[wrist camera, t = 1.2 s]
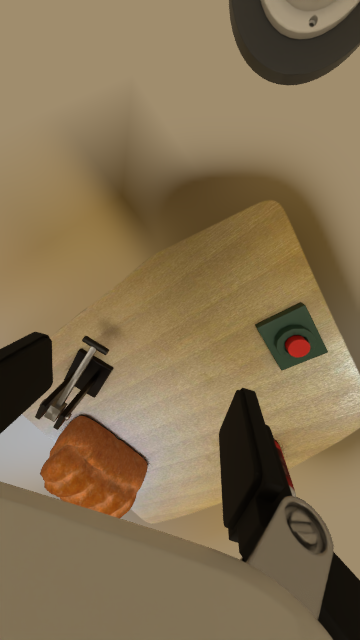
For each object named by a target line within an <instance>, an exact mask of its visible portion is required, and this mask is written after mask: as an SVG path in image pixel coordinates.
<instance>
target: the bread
mask: <svg viewBox="0 0 360 640" xmlns="http://www.w3.org/2000/svg"><path fill="white" fill-rule="evenodd" d="M147 467H148V466H147V463H146V461H145V459H144V458H142V457H141V456H140V455H139V454H138V453H136V452H135V451H133V450H132V449H131V448H130V447H129V446H127V445H126V444H125V443H124V442H123V441H121V440H117V438H116V437H115V436H114V435H113V434H112V433H111V432H109V431H108V430H107V429H105V428H104V427H102V426H101V425H99V424H98V423H97V422H95V421H93V420H91V419H89V418H87V417H85V416H78V417H77V418H75V419H74V420H72V421H71V422H70V423H69V424H68V426H67V427H66V428H65V429H64V431H63V432H62V433H61V434H60V436H59V437H58V439H57V441H56V443H55V445H54V446H53V448H52V449H51V451H50V457H49V459H48V460H47V461H46V462H45V464H44V465H43V467H42V469H41V473H40V474H41V476H42V477H43V480H44V481H45V488H46V489H47V491H49V492H50V493H51V494H54V495H56V496H57V497H60V499H61V500H63V501H65V502H68V503H72V504H75V505H78V506H81V507H85V508H88V509H91V510H94V511H98V512H101V513H104V514H107V515H110V516H113V517H117V518H121V517H122V516H123V515H124V514H126V513H127V512H128V511H129V510H130V508H131V507H132V505H133V503H134V501H135V498H136V494H137V492H138V490H139V489H140V487H141V485H142V483H143V481H144V478H145V475H146V472H147Z"/></svg>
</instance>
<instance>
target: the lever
mask: <svg viewBox="0 0 360 640" xmlns="http://www.w3.org/2000/svg"><path fill="white" fill-rule="evenodd" d="M82 341H83V342H84V343H86V344H88V345H89V346H91V348H90V349H89V351H88V352H87V354H86V356H85V357H84V359H83V361H82V362H81V364H80V365H79V367H78V369H77V370H76V372H75V374H74V375H73V377H72V378H71V380H70V382H69V383H68V385H67V387H66V388H65V390H64V392H63V393H62V395H61V396H60V398H59V399H57V400H56V401H55V402H54V403H53V404H52V405H51V406H50V407H49V409H48V410H47V412H46V414H45V415H44V417H46V418H48V419H50V420H52V421H53V422H54V421H55V420H56V419H57V418H58V417H59V416H60V414H61V413H62V412H63V410H64V409H65V407H66V406H67V403H65V401H66V399H67V398H68V396H69V394H70V393H71V391H72V389H73V388H74V386H75V385H76V383H77V381H78V380H79V378H80V377H81V375H82V373H83V372H84V370H85V369H86V367H87V365H88V364H89V362H90V361H91V359H92V357H93V356H94V354H95V353H96V351H97V350H98V351H99V352H101V353H102V354H104V355H106V354H107V353H108V352H109V349H107V348H106V347H104V346H102V345H101V344H99V343H97V342H96V341H94V340H93V339H91V338H89V337H88V336H85V337H84V338H83V340H82Z"/></svg>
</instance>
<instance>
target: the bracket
mask: <svg viewBox="0 0 360 640" xmlns="http://www.w3.org/2000/svg"><path fill="white" fill-rule="evenodd" d="M86 354H87V352H86V351H85V350H83V349H80V350H79V351H78V353H77V355H76V357H75V359H74V361H73V363H72V365H71V367H70V369H69V371H68V373H67V375H66V377H65V379H64V380H65V381H64V382H63V383H62V384H61V385H60V386H59V387H58V388H57V389H56V390H55V391H54V392H53V393H52V394H50V395H49V396H48V397H47V398H46V399H44V400H43V401H42V402H41V404H40V407H39V409H38V411H37V414H36V416H35V417H36V418H37V419H40V418H41V417H42V416H43V415H44V414H45V413H46V412H47V410H48V409H49V407H50V406H51V405H52V404H53V403H54V402H55V401H56V400H57V399H59V398H60V396H61V395H62V393H63V392H64V390H65V388H66V387H67V385H68V383H69V382H70V380H71V378H72V377H73V375H74V374H75V372H76V370H77V369H78V367H79V365H80V364H81V362H82V361H83V359H84V357H85V356H86ZM112 370H113V367H111V366H110V365H108V364H106V363H105V362H103V361H101V360H100V359H98V358H96V357H95V356H93V357H92V359H91V361H90V362H89V364H88V365H87V367H86V369H85V370H84V372H83V373H82V375H81V377H80V378H79V380H78V381H77V383H76V385H75V387H77V388H78V389H80V390H81V391H80V392H79V393H78V394H77V395H76V397H75V398H74V399H73V400H72V401H71V402H70V404H69V405H68V406H67V407H66V408H65V409H64V411H63V412H62V413H61V414H60V416H59V418H58V419H57V421H56V423H55V425H54V428H55V429H57V430H58V429H59V428H60V426H61V425H62V424H63V422H64V421H65V420H66V421H67V420H68V419H69V418H70V416H71V415H72V414H71V412H72V411H73V410H74V409H75V407H76V406H77V405H78V404H79V402H80V401H81V400H82V399H83V397H84V396H85V395H86V394H89V395H90V396H92V397H94V398H95V397H96V395H97V394H98V392H99V390H100V389H101V387H102V386H103V384H104V382H105V381H106V379H107V378H108V376H109V374H110V373H111V371H112Z"/></svg>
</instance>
